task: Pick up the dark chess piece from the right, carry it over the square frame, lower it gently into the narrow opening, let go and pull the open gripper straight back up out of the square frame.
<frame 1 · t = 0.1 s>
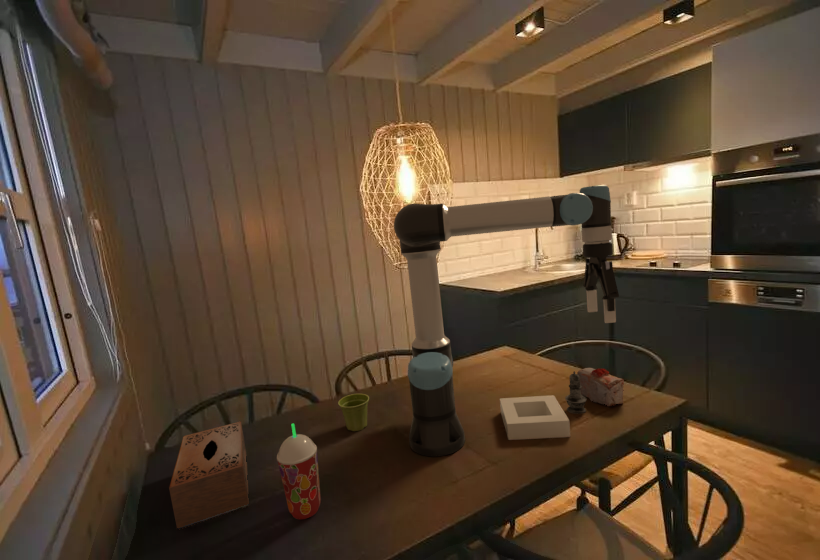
hand: (600, 316, 116), 28 cm above the table, tool pointing down, fingers open, 13 cm apart
tissue box cover: (217, 487, 101), on the table
food item: (600, 400, 126), on the table
smoothie: (305, 511, 89), on the table
square frame: (533, 423, 115), on the table
plant pot: (357, 427, 125), on the table
dark chess piece: (576, 410, 121), on the table
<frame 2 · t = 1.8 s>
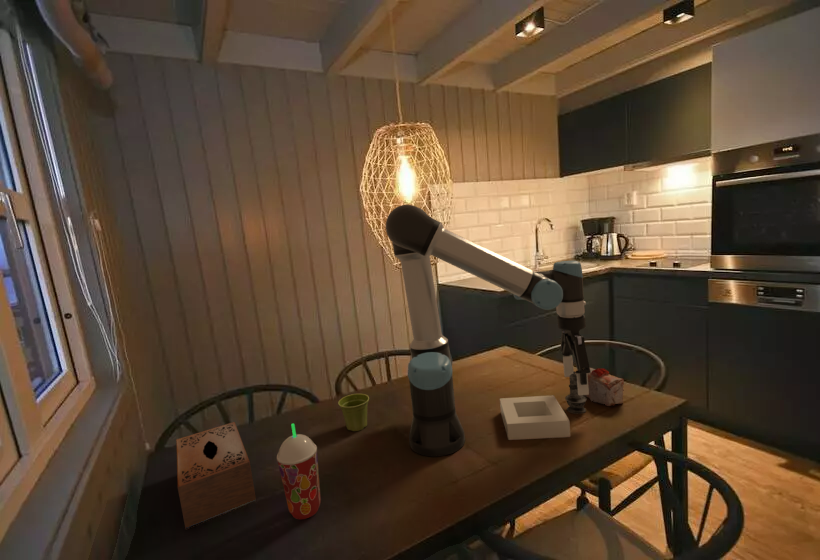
hand: (575, 385, 120), 8 cm above the table, tool pointing down, fingers open, 13 cm apart
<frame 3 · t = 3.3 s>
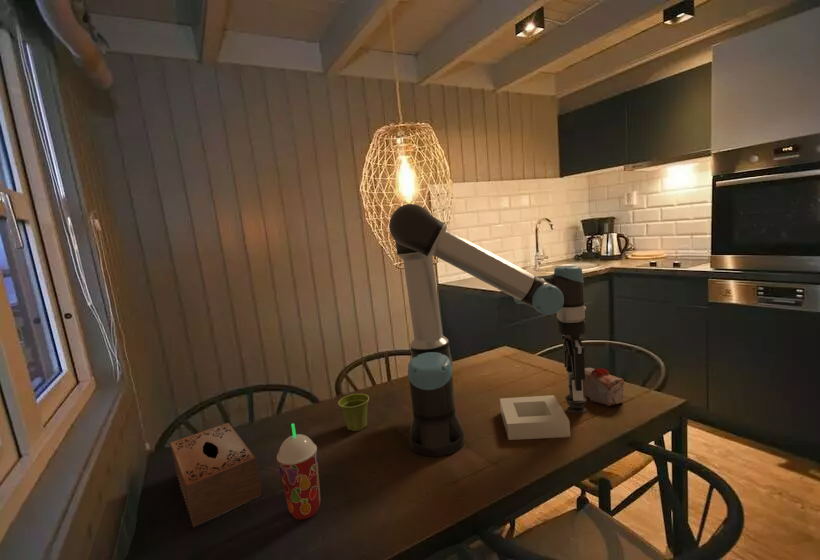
hand: (575, 396, 120), 4 cm above the table, tool pointing down, fingers closed on dark chess piece, 4 cm apart
dark chess piece: (576, 410, 121), on the table, touching gripper
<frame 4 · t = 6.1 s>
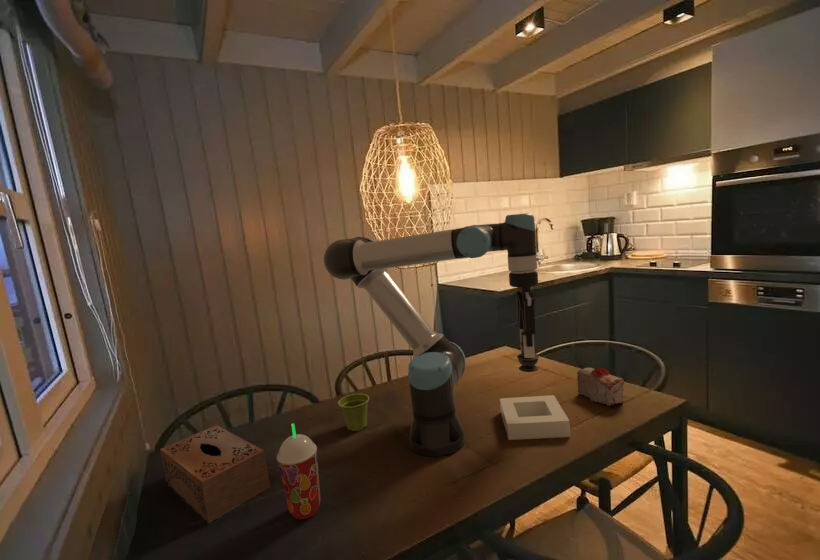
hand: (527, 354, 113), 20 cm above the table, tool pointing down, fingers closed on dark chess piece, 4 cm apart
dark chess piece: (528, 369, 113), point 16 cm above the table, touching gripper
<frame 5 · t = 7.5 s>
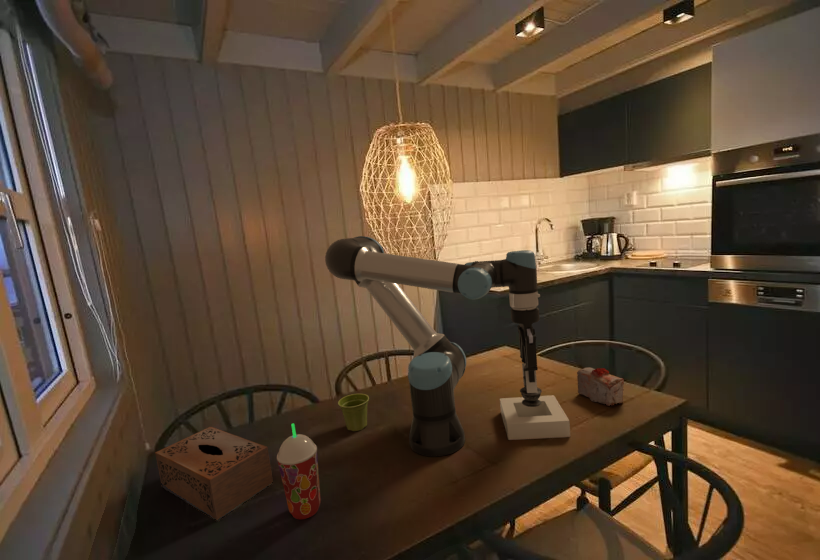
hand: (530, 388, 114), 10 cm above the table, tool pointing down, fingers closed on dark chess piece, 4 cm apart
dark chess piece: (531, 403, 114), point 6 cm above the table, touching gripper
when the fingers open (5 cm above the table, at t = 8.8 s): dark chess piece drops 1 cm, resting in square frame.
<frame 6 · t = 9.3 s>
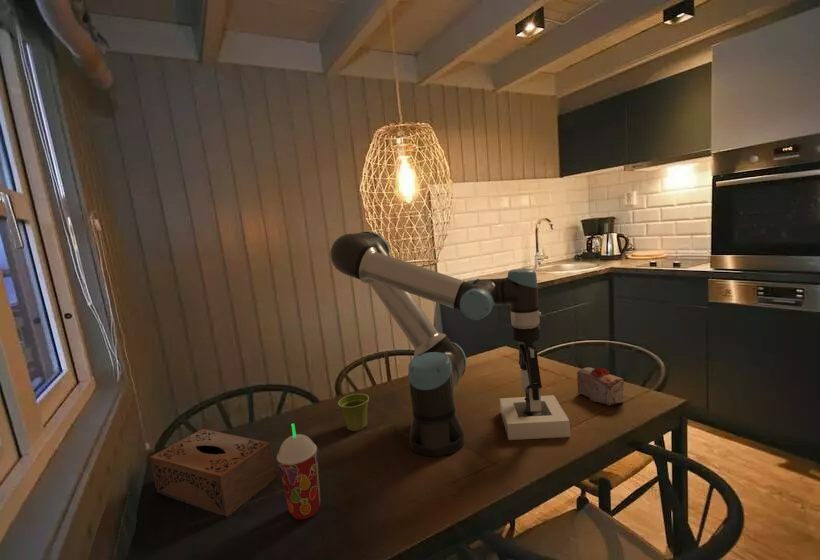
hand: (531, 400, 114), 7 cm above the table, tool pointing down, fingers open, 12 cm apart
dark chess piece: (532, 424, 115), resting in square frame
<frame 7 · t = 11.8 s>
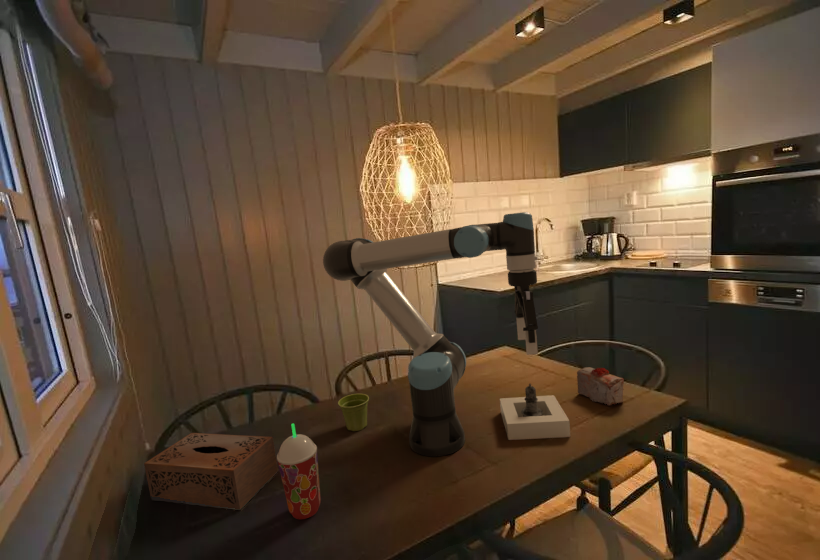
hand: (527, 346, 112), 23 cm above the table, tool pointing down, fingers open, 13 cm apart
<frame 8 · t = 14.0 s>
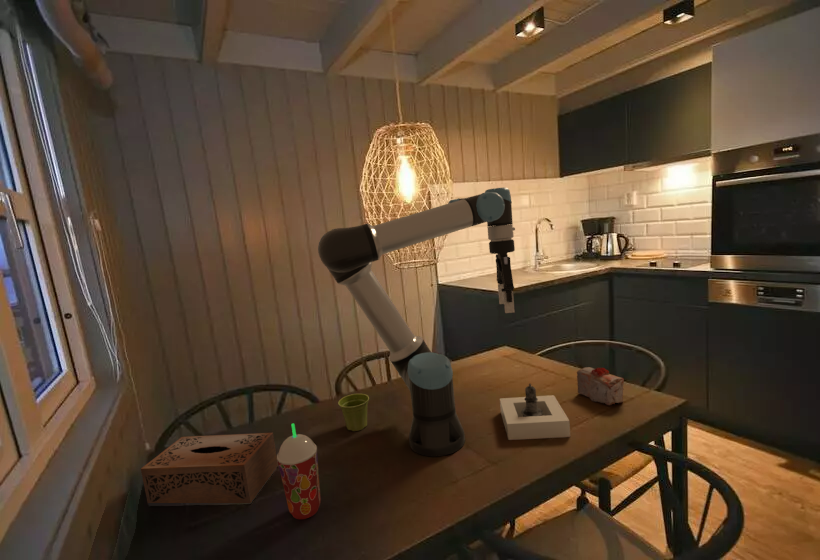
hand: (506, 308, 126), 31 cm above the table, tool pointing down, fingers open, 13 cm apart
at the end: dark chess piece 0.0 cm off-centre on the square frame, point 0.0 cm above the square frame's base; dark chess piece tilted 0°; the gripper is holding nothing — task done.
